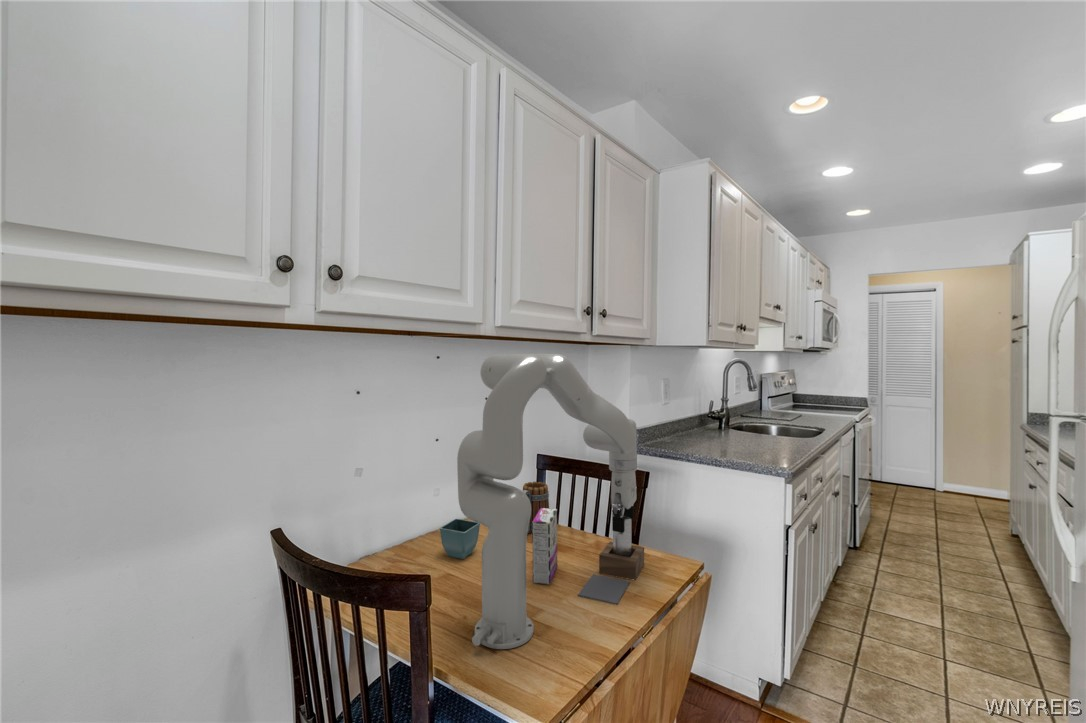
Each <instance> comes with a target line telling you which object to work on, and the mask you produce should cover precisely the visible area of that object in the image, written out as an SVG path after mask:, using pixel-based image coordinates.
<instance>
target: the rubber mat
mask: <svg viewBox="0 0 1086 723" xmlns="http://www.w3.org/2000/svg"><path fill="white" fill-rule="evenodd" d="M630 584H631V581H630V580H627V579H626V580H625V579H620V578H615V577H609V576H607V575H606V576H605V575H600V574H595V573H593V574H592V575H591V576H590V578H589V579H588V580H587V582H586V583H585V584H584V586H582V588H581V590H580V591H579V592H578V593H577V597H580V598H585V599H590V600H594V601H597V602H603V603H607V604H612V605H615V604H616V606H618V604H620V603H619V602H620V601H621V599H622V598H623V596H624V594H625V593H626V591H625V590H628V587H629V585H630ZM621 597H622V598H621Z"/></svg>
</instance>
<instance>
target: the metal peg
mask: <svg viewBox="0 0 1086 723" xmlns="http://www.w3.org/2000/svg"><path fill="white" fill-rule="evenodd" d="M623 517H625V531H624V532H623V533H622V532H616V531H613V530H612V542H613V554H614V555H620V556H625V557H631V545H632V520H631V518H630V517H627V516H623Z"/></svg>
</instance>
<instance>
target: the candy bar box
mask: <svg viewBox="0 0 1086 723" xmlns="http://www.w3.org/2000/svg"><path fill="white" fill-rule="evenodd" d="M557 511H558V509H557V508H550V507H549V508H541V509H540V510H539V512H538V514H537V515H536V517H535V518H534V520H533V522H532V534H531V537H532V583H533V584H537V583H540V585H551V584H552V581H553V578H554V575H555V573H556V570H557V568H558V515H557V513H558V512H557Z"/></svg>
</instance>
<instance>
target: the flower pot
mask: <svg viewBox="0 0 1086 723" xmlns="http://www.w3.org/2000/svg"><path fill="white" fill-rule="evenodd" d="M480 525H481V524H480V523H478V522H475V521H473V520H468V519H467V520H466V519H463V518H462V519H461V518H454V519H452V520H451V521H449V522H448V523H446V524H444V525H442V526H440V527H439V533H440V538H441V539H440V540H441V544H442V547H443V549H444V551H445V553H446V555H447V556H448V557H451V558H456V559H459V560H463V559H465V558H466V557H468V556H469V555H470V554H472V553H473V552H474V550H475V548H476V546H477V543H478V539H479V534H480V527H481V526H480Z"/></svg>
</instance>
